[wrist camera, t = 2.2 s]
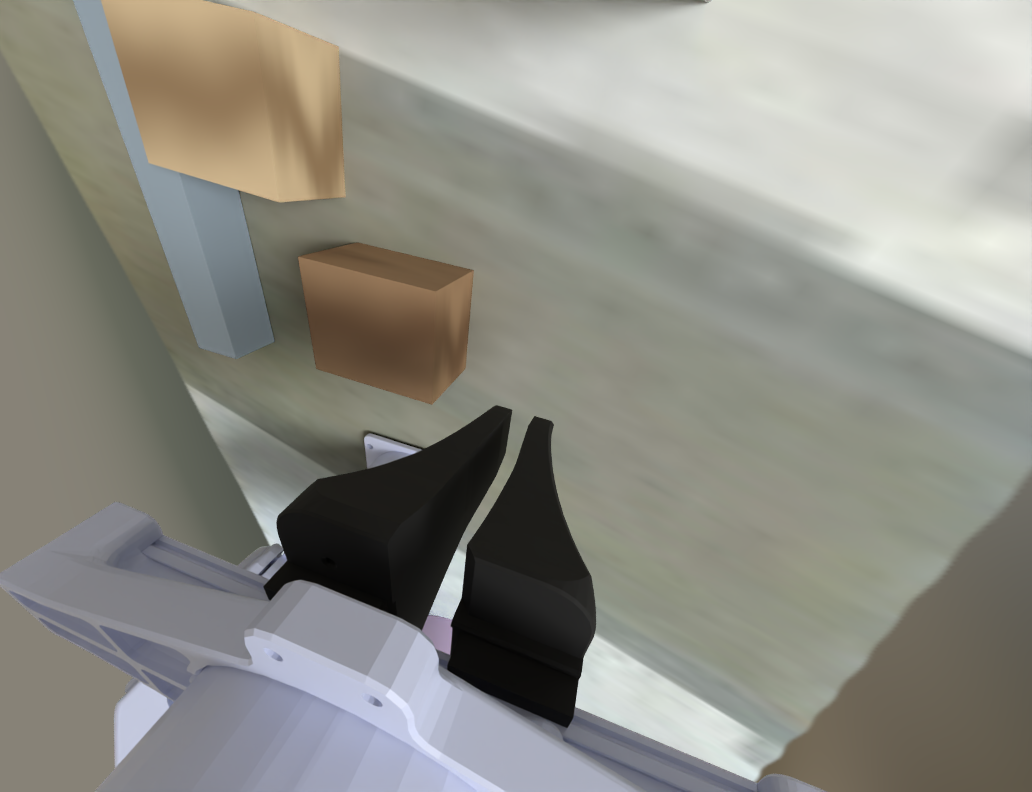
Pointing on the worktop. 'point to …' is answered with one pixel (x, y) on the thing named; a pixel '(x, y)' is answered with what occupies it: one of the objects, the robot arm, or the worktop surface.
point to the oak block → (232, 96)
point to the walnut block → (388, 318)
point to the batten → (190, 224)
